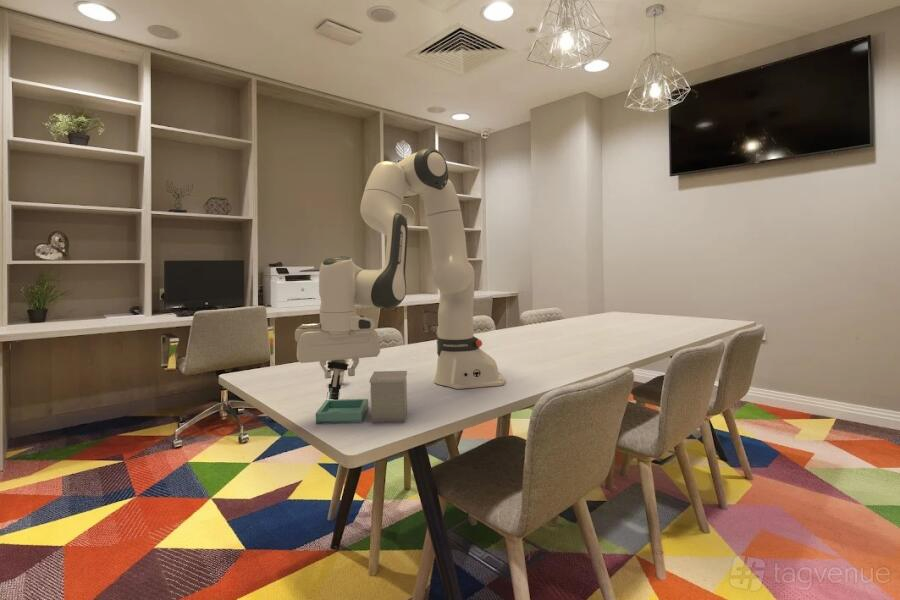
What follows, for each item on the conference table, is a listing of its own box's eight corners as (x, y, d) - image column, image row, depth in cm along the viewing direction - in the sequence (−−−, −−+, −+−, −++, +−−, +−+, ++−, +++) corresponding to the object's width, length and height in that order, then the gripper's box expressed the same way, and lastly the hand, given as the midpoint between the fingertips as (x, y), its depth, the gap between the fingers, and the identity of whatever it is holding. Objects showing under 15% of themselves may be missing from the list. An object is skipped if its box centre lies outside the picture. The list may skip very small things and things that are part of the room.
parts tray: (368, 407, 124) (367, 398, 124) (361, 422, 113) (361, 412, 113) (326, 409, 124) (326, 399, 123) (315, 423, 113) (315, 413, 112)
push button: (343, 400, 114) (349, 359, 116) (320, 398, 113) (327, 356, 115) (343, 400, 120) (349, 361, 122) (322, 398, 119) (328, 359, 121)
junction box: (408, 410, 121) (407, 370, 120) (406, 422, 113) (404, 379, 112) (374, 411, 121) (373, 371, 120) (369, 423, 112) (368, 380, 111)
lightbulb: (351, 381, 151) (350, 347, 150) (345, 386, 145) (344, 351, 144) (333, 381, 151) (332, 347, 150) (326, 386, 145) (325, 351, 144)
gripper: (295, 326, 110) (297, 384, 111) (381, 321, 117) (382, 375, 119) (293, 322, 115) (295, 377, 117) (375, 318, 123) (376, 370, 124)
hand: (339, 376), depth 118 cm, fingers closed on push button, 4 cm apart
